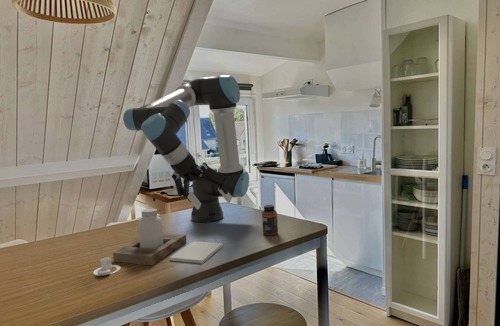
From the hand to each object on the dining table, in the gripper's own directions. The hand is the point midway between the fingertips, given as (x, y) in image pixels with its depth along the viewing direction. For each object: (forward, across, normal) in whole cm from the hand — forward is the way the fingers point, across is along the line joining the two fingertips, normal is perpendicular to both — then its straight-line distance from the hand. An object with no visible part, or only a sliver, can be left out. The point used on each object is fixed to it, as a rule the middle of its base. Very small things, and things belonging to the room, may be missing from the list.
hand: (214, 203), depth 121 cm
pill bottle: (+3, -24, -15) cm, 29 cm away
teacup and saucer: (-8, -27, -32) cm, 43 cm away
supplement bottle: (+28, +6, +8) cm, 29 cm away
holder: (+3, -24, -15) cm, 28 cm away
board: (+9, -8, -13) cm, 18 cm away
